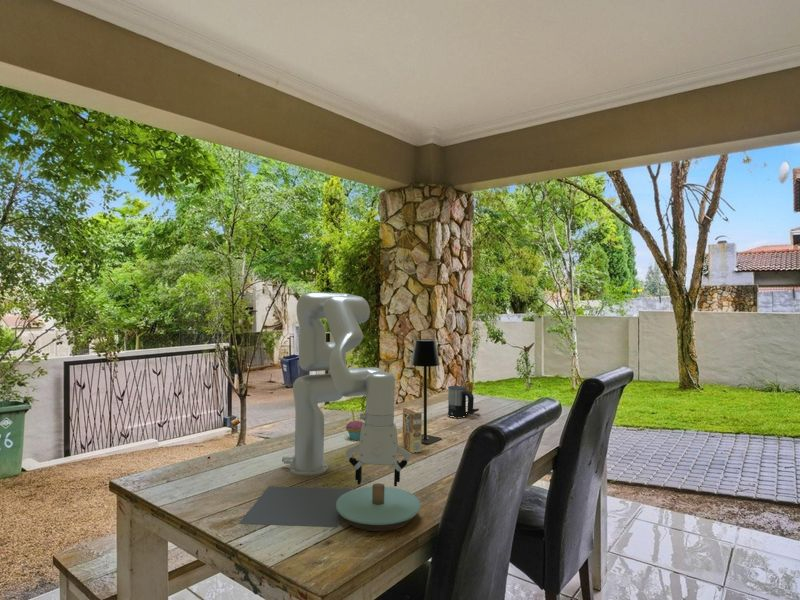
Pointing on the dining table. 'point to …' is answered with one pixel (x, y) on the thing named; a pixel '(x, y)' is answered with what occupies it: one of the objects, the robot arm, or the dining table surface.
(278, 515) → the mat
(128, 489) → the dining table surface
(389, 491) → the lid
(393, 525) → the plant saucer
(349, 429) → the cupcake
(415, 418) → the candy box
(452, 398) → the milk frother
